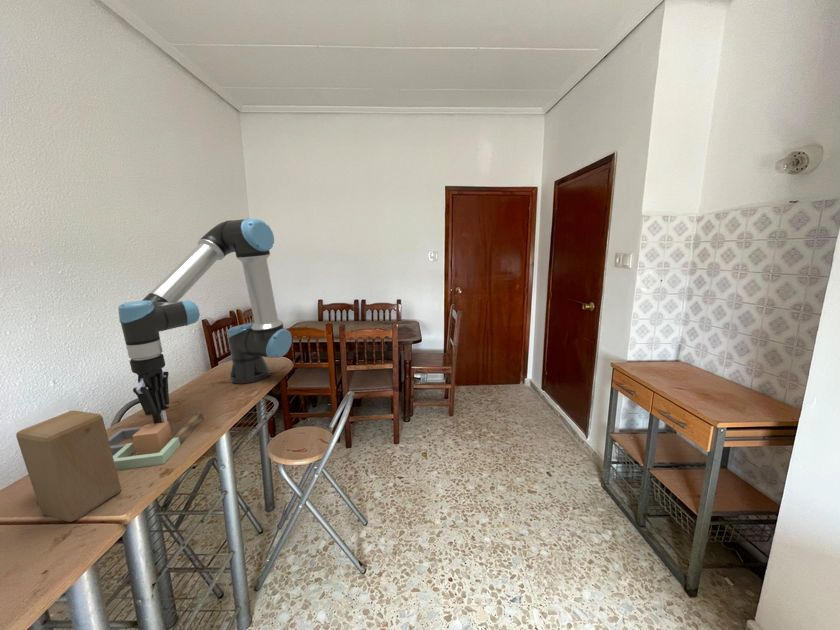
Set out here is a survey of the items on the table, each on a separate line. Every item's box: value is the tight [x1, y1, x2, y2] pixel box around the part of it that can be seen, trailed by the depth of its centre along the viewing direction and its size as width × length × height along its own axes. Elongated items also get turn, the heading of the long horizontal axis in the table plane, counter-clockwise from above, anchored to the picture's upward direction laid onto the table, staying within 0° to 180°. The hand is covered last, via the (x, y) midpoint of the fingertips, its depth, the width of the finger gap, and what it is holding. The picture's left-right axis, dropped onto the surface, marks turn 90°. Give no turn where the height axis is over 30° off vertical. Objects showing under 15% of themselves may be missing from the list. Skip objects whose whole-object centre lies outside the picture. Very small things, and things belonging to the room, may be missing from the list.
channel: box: [150, 411, 204, 446], centre depth 103 cm, size 15×13×2 cm
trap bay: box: [108, 425, 145, 456], centre depth 98 cm, size 11×8×2 cm
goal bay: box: [113, 437, 181, 471], centre depth 91 cm, size 8×13×2 cm, turn 100°
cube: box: [132, 421, 173, 456], centre depth 95 cm, size 6×6×6 cm
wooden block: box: [16, 410, 122, 523], centre depth 74 cm, size 10×10×20 cm
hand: (162, 431), depth 100 cm, fingers closed
